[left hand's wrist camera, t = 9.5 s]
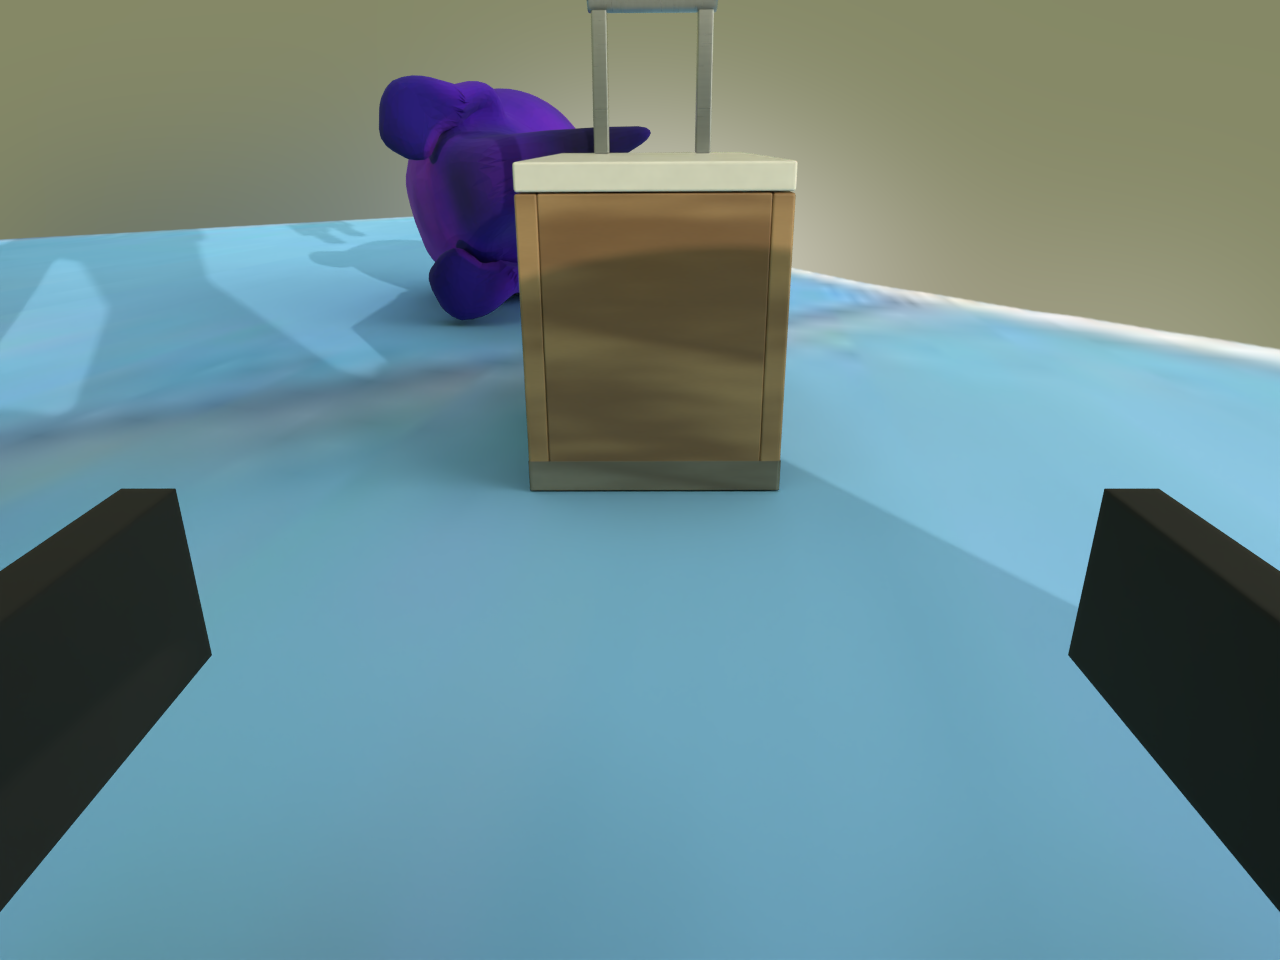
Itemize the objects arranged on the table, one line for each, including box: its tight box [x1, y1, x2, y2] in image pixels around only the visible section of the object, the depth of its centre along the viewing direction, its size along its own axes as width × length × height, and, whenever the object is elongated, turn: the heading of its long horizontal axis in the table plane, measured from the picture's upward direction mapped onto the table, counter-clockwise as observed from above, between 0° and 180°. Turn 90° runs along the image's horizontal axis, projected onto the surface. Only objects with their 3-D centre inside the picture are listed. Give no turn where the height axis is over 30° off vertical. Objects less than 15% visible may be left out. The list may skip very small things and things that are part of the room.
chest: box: [514, 191, 795, 490], centre depth 37 cm, size 16×9×10 cm, turn 179°
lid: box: [512, 0, 797, 192], centre depth 34 cm, size 17×9×9 cm, turn 179°
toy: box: [379, 76, 650, 320], centre depth 63 cm, size 16×18×27 cm
